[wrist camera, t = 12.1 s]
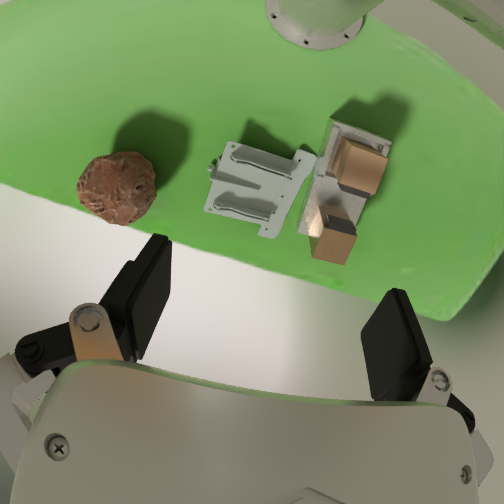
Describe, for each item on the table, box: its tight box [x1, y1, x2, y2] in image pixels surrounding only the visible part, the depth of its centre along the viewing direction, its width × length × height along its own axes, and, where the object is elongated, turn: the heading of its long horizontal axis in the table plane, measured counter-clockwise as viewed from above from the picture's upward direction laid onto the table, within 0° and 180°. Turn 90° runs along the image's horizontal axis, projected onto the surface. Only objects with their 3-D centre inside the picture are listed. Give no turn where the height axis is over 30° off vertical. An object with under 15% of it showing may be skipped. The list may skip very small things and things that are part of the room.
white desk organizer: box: [297, 117, 392, 265], centre depth 35 cm, size 17×8×9 cm, turn 168°
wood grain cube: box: [331, 136, 389, 199], centre depth 31 cm, size 5×5×6 cm
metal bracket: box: [204, 141, 317, 239], centre depth 40 cm, size 14×6×15 cm
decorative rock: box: [77, 151, 157, 226], centre depth 37 cm, size 13×11×10 cm
